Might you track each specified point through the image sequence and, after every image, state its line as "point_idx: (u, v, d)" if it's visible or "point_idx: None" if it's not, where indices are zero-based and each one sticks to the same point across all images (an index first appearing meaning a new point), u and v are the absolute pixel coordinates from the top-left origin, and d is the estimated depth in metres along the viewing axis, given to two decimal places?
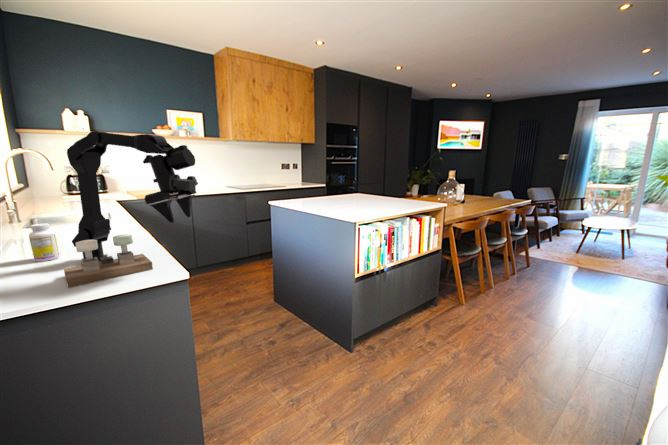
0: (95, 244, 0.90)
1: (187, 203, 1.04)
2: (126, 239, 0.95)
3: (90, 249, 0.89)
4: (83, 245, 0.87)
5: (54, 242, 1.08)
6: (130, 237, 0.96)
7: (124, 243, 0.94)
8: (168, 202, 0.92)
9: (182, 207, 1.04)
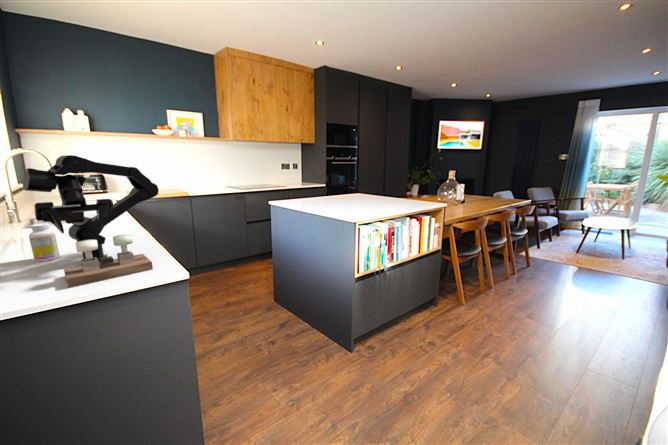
0: (95, 244, 0.90)
1: None
2: (126, 239, 0.95)
3: (90, 249, 0.89)
4: (83, 245, 0.87)
5: (54, 242, 1.08)
6: (130, 237, 0.96)
7: (124, 243, 0.94)
8: (102, 216, 1.01)
9: None
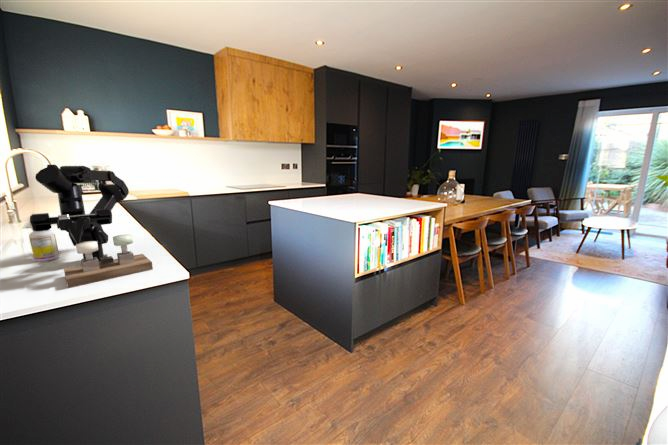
0: (95, 246, 0.90)
1: None
2: (126, 239, 0.95)
3: (90, 251, 0.89)
4: (83, 247, 0.88)
5: (54, 242, 1.08)
6: (130, 237, 0.96)
7: (124, 243, 0.94)
8: None
9: (75, 230, 0.90)
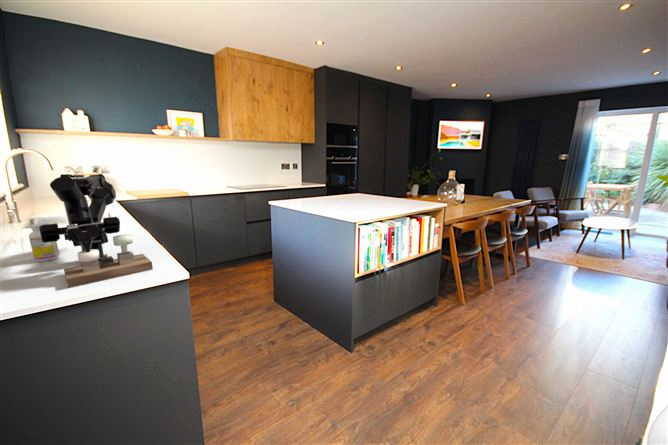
0: (97, 254, 0.91)
1: None
2: (126, 239, 0.95)
3: (92, 259, 0.89)
4: (85, 255, 0.88)
5: (54, 242, 1.08)
6: (130, 237, 0.96)
7: (124, 243, 0.94)
8: None
9: (84, 239, 0.90)
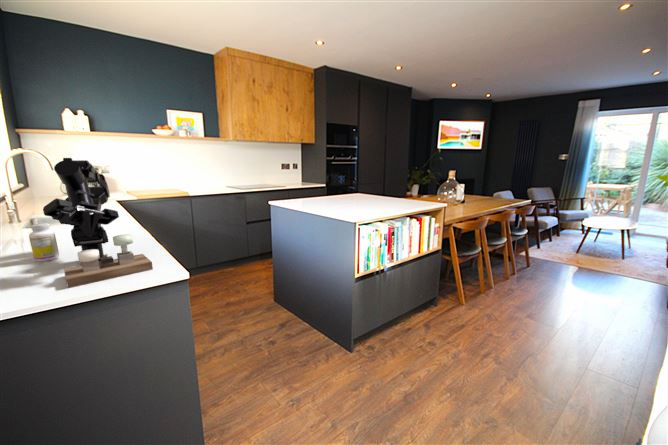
0: (97, 254, 0.91)
1: None
2: (126, 239, 0.95)
3: (92, 259, 0.89)
4: (85, 255, 0.88)
5: (54, 242, 1.08)
6: (130, 237, 0.96)
7: (124, 243, 0.94)
8: None
9: None
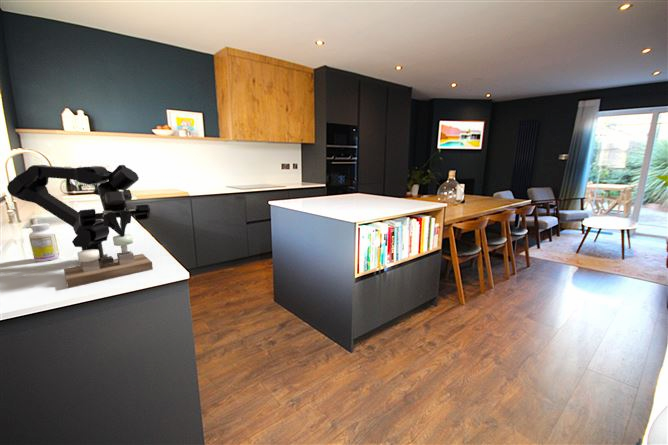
0: (97, 254, 0.91)
1: (121, 222, 0.96)
2: (126, 239, 0.95)
3: (92, 259, 0.89)
4: (85, 255, 0.88)
5: (54, 242, 1.08)
6: (130, 237, 0.96)
7: (124, 243, 0.94)
8: (110, 216, 0.94)
9: None
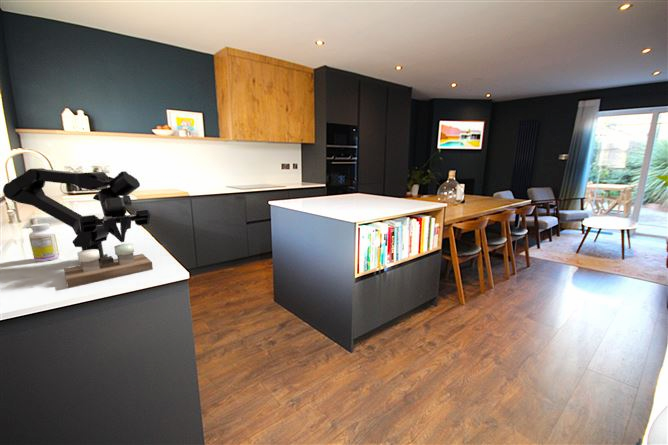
0: (97, 254, 0.91)
1: (121, 228, 0.97)
2: (127, 248, 0.95)
3: (92, 259, 0.89)
4: (85, 255, 0.88)
5: (54, 242, 1.08)
6: (131, 246, 0.97)
7: (126, 253, 0.95)
8: (110, 222, 0.95)
9: None
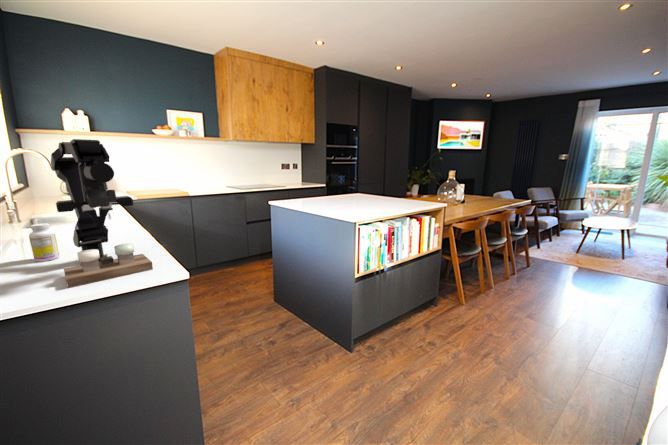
0: (97, 254, 0.91)
1: (101, 216, 0.95)
2: (127, 248, 0.95)
3: (92, 259, 0.89)
4: (85, 255, 0.88)
5: (54, 242, 1.08)
6: (131, 246, 0.97)
7: (126, 253, 0.95)
8: (90, 212, 0.92)
9: (99, 217, 0.97)
